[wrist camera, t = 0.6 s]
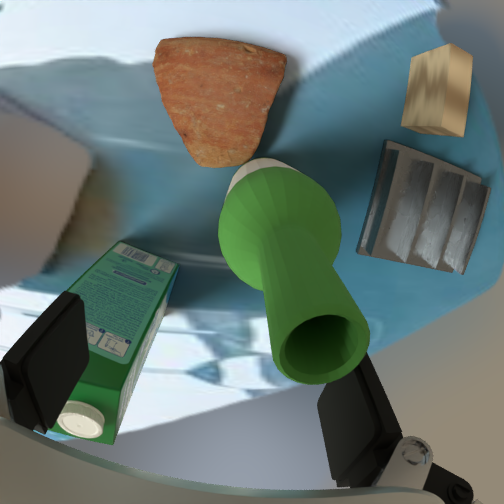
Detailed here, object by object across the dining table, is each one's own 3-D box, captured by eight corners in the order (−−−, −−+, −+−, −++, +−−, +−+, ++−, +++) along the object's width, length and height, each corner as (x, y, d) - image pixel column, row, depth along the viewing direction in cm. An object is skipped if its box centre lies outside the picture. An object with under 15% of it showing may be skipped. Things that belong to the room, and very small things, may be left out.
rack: (384, 139, 34) (398, 140, 30) (477, 177, 35) (494, 182, 32) (355, 251, 39) (365, 263, 36) (449, 270, 41) (462, 281, 37)
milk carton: (163, 317, 43) (106, 465, 20) (107, 294, 42) (19, 421, 18) (180, 264, 40) (111, 414, 17) (118, 240, 39) (2, 357, 15)
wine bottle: (285, 148, 35) (437, 179, 7) (302, 210, 37) (435, 391, 9) (221, 167, 35) (134, 266, 7) (241, 228, 38) (235, 450, 10)
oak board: (411, 57, 30) (451, 43, 21) (430, 66, 30) (472, 56, 21) (400, 125, 33) (441, 126, 25) (420, 133, 34) (463, 137, 25)
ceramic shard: (124, 154, 30) (157, 30, 27) (149, 159, 36) (175, 51, 33) (261, 176, 29) (289, 40, 26) (264, 178, 35) (288, 62, 32)
